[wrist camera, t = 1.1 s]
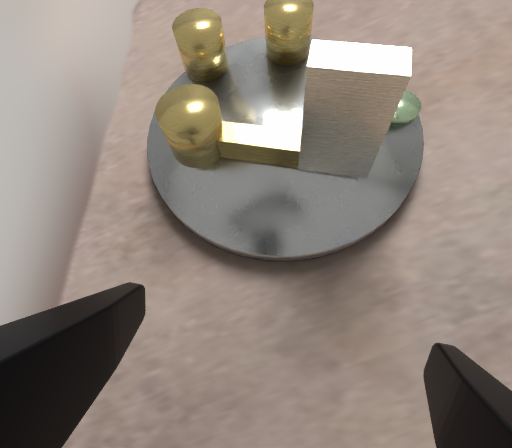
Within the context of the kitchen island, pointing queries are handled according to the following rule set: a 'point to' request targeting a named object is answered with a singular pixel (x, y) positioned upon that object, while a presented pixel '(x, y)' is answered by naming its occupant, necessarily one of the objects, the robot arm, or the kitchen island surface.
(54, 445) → the robot arm
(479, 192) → the kitchen island surface
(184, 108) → the lever
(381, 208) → the base
